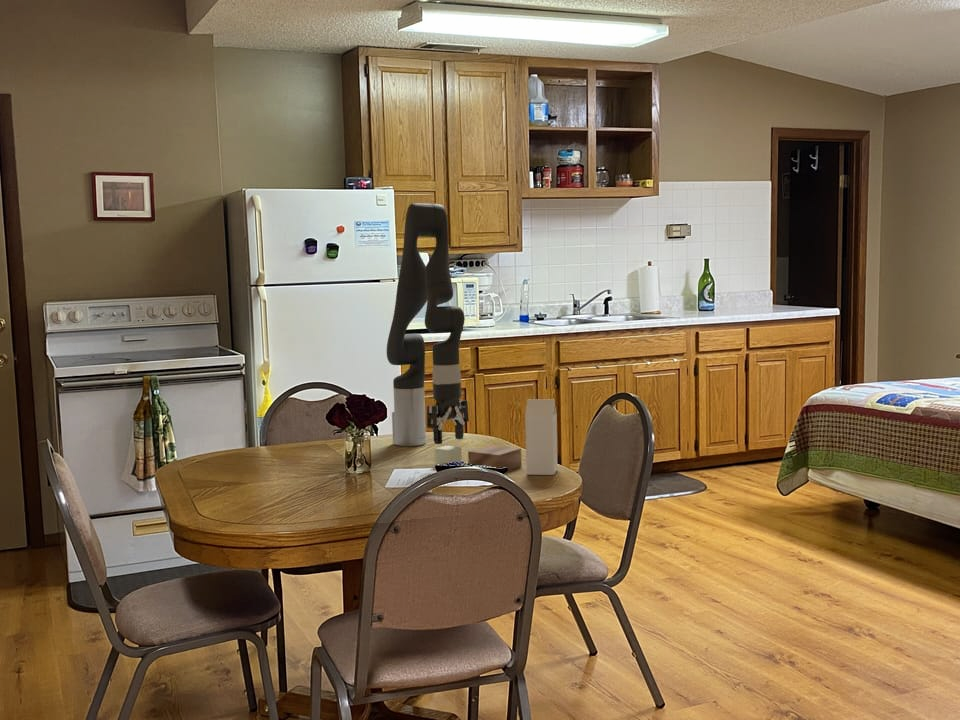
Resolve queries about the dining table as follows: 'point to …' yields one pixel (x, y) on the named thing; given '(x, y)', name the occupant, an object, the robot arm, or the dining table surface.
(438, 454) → the sage cube
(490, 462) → the walnut block
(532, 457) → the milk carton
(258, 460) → the dining table surface
